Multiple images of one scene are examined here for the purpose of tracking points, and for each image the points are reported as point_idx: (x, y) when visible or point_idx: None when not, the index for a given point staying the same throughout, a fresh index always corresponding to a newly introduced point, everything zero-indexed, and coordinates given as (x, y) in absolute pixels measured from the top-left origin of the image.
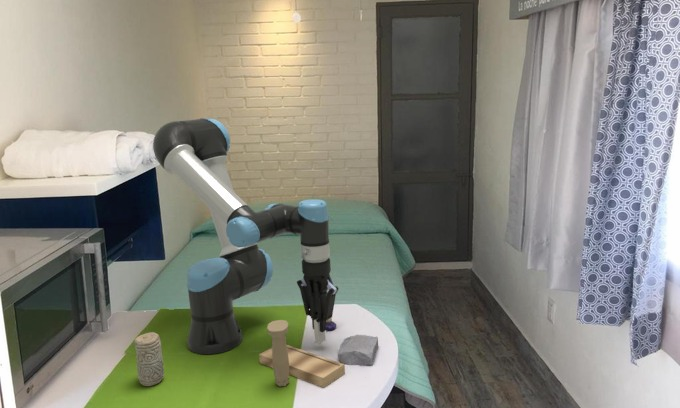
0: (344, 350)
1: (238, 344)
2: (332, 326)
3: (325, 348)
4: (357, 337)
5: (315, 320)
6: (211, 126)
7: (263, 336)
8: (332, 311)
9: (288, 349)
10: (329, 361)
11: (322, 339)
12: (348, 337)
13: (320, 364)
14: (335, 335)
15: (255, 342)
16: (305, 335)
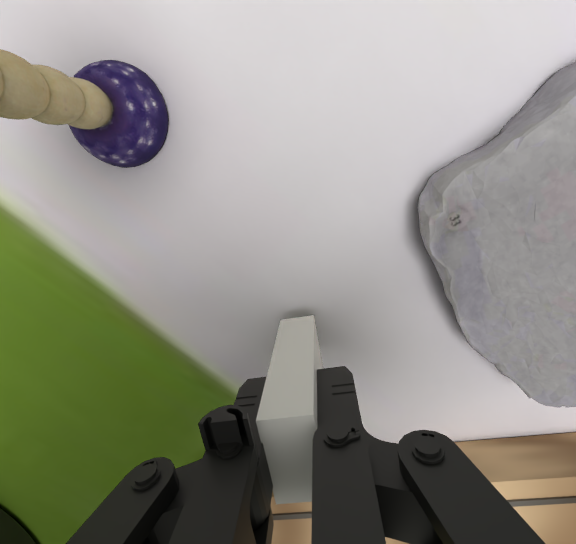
0: (573, 379)
1: (25, 533)
2: (150, 117)
3: (332, 317)
4: (536, 193)
5: (294, 500)
6: None
7: (5, 424)
8: (524, 530)
9: (276, 526)
10: (571, 499)
11: (318, 347)
12: (443, 217)
13: (543, 536)
14: (241, 165)
15: (43, 477)
16: (122, 288)
